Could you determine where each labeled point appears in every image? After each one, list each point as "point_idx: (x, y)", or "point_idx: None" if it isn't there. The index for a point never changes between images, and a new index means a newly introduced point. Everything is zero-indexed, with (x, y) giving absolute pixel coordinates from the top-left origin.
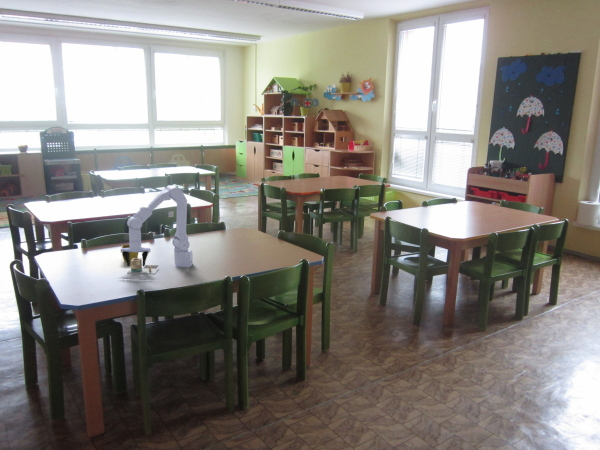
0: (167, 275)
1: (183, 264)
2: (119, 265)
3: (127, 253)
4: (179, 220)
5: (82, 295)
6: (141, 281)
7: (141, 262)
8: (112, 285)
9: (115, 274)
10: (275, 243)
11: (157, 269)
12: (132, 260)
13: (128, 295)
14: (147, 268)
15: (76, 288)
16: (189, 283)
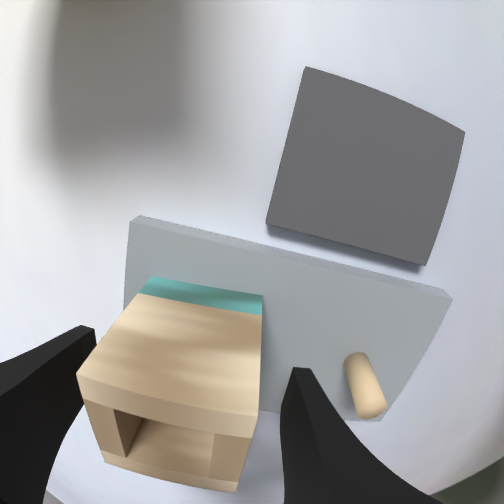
0: (454, 404)
1: None
2: (17, 53)
3: (11, 501)
4: None
5: (75, 496)
6: (270, 481)
7: (258, 366)
8: (124, 480)
9: (43, 330)
10: None
11: (434, 322)
12: (127, 467)
13: None
14: (335, 272)
15: None
16: (474, 470)
